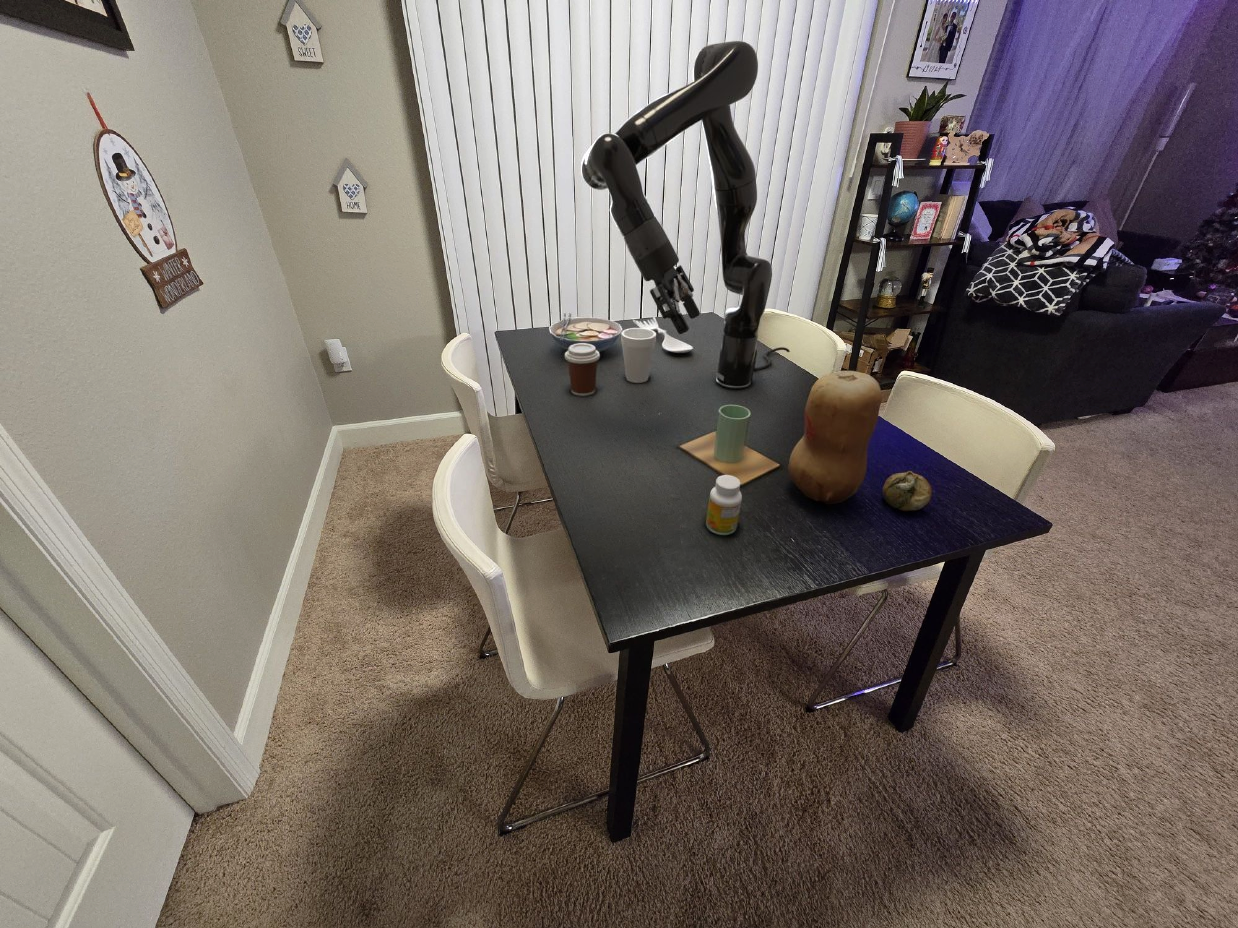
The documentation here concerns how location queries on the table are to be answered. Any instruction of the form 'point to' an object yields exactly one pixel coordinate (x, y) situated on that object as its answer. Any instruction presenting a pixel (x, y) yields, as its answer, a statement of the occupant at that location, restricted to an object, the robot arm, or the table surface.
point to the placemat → (743, 470)
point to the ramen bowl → (585, 332)
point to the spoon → (668, 342)
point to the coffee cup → (582, 368)
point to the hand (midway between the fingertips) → (690, 324)
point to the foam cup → (637, 353)
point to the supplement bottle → (724, 505)
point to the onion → (907, 491)
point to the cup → (731, 433)
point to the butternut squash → (836, 436)
